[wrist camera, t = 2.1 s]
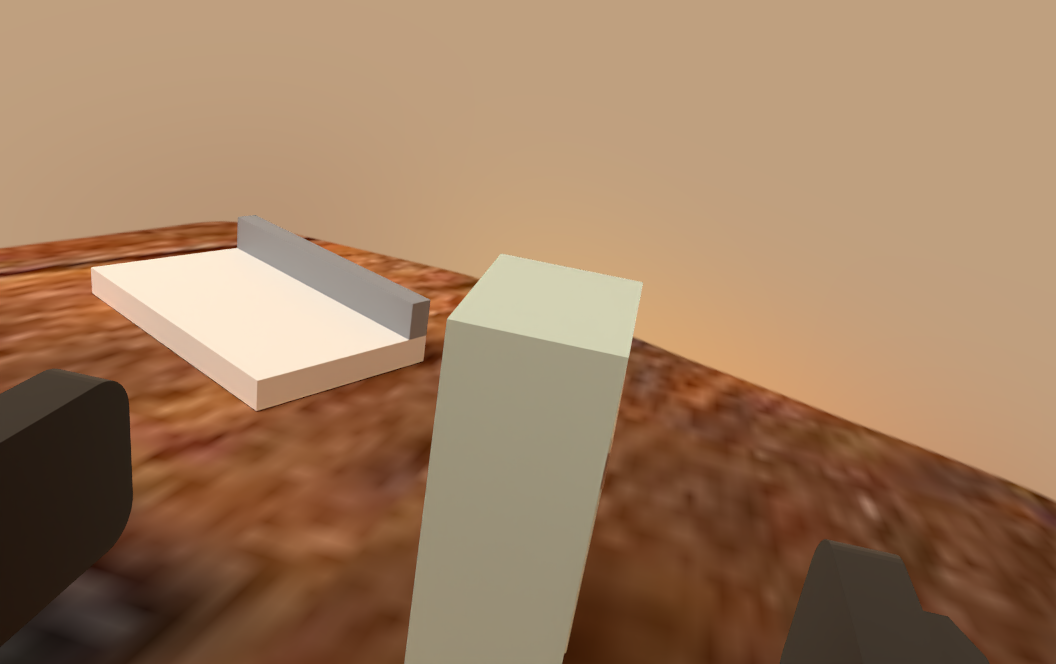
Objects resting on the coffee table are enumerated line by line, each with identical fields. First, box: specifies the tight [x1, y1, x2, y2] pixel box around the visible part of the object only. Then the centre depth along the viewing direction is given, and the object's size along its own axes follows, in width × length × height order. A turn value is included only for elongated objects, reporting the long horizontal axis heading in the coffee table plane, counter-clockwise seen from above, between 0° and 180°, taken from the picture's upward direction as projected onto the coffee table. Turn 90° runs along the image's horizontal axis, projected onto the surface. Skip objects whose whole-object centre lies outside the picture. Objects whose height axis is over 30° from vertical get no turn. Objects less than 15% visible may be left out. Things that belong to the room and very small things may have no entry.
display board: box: [91, 215, 430, 411], centre depth 44 cm, size 10×16×4 cm, turn 49°
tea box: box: [404, 254, 643, 664], centre depth 22 cm, size 4×6×12 cm
